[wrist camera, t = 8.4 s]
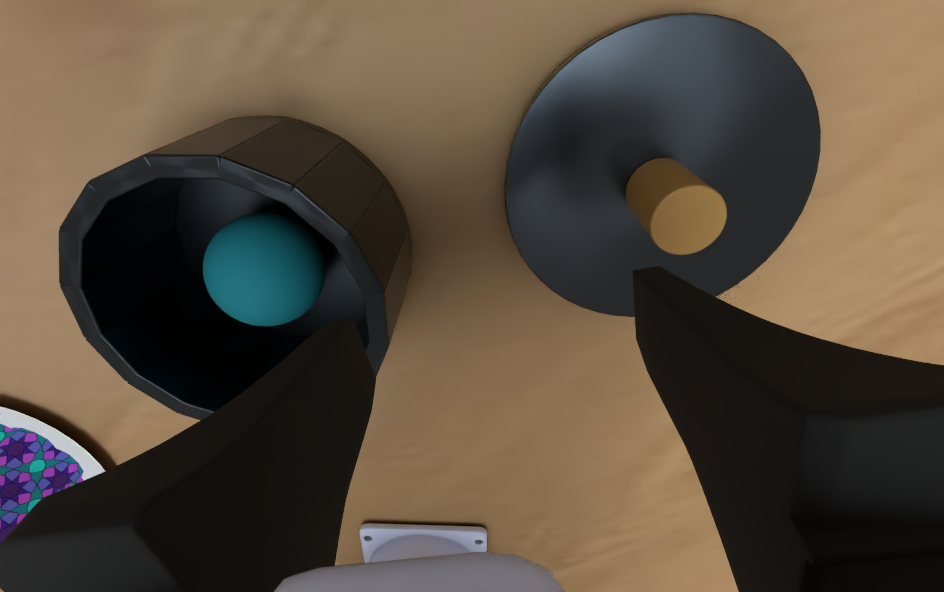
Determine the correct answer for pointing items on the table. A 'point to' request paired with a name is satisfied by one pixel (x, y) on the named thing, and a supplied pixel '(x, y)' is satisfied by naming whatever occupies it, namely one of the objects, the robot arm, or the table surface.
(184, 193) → the black pot
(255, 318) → the ball
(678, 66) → the pot lid
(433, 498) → the table surface
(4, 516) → the pudding
